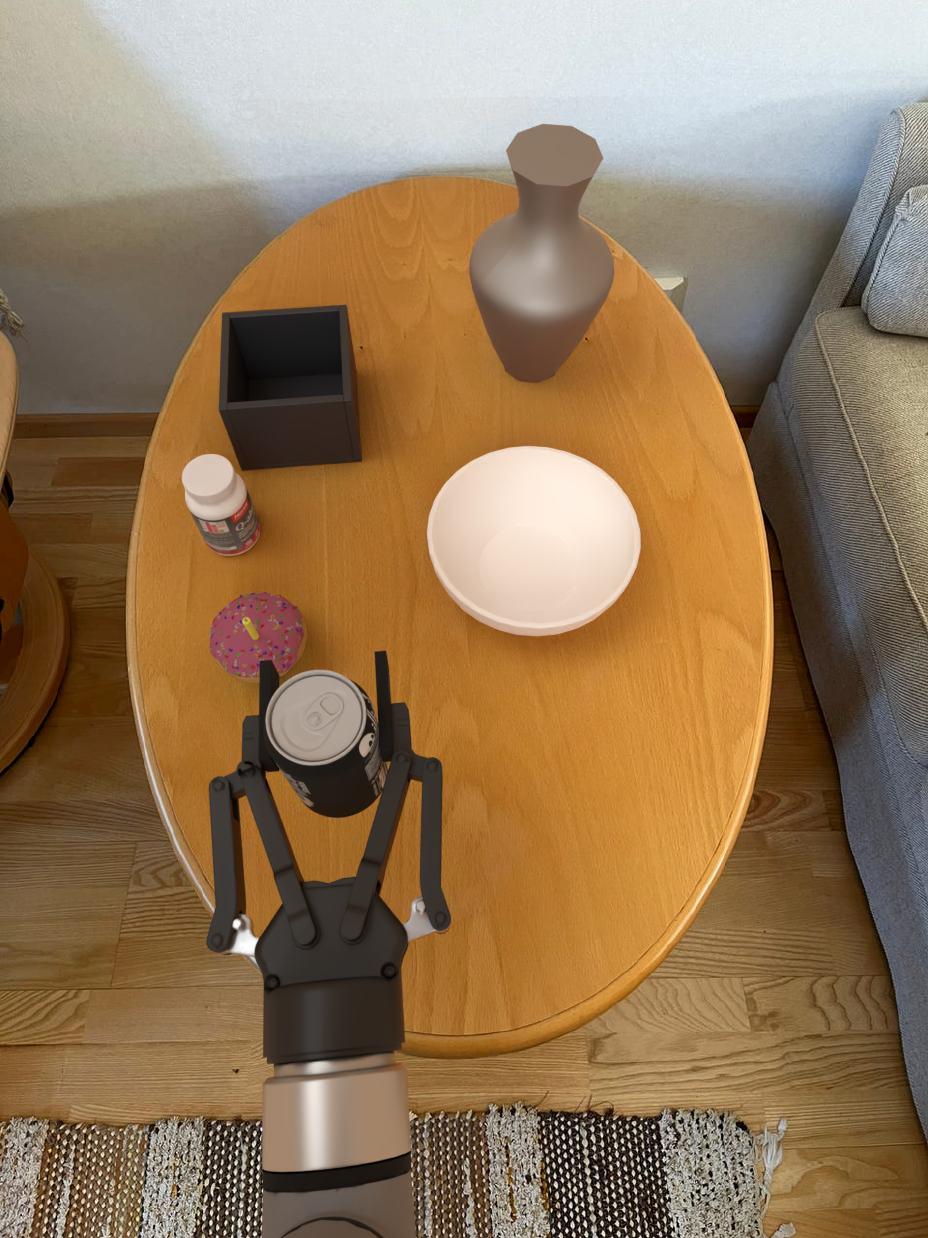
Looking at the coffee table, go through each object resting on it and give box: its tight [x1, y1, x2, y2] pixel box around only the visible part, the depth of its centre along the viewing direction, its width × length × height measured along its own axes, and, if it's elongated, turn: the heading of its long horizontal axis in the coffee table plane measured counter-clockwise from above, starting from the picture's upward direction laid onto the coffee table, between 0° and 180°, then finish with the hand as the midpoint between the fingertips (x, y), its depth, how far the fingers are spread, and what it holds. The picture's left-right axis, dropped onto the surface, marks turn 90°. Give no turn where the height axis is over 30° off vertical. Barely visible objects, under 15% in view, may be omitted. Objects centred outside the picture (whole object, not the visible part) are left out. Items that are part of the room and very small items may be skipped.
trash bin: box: [218, 304, 363, 471], centre depth 87 cm, size 13×13×10 cm
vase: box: [468, 123, 615, 383], centre depth 84 cm, size 14×14×25 cm
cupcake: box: [208, 591, 308, 684], centre depth 73 cm, size 9×8×12 cm
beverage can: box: [263, 669, 389, 819], centre depth 53 cm, size 7×7×12 cm
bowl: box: [426, 445, 642, 637], centre depth 80 cm, size 20×20×7 cm
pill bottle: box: [181, 453, 261, 557], centre depth 80 cm, size 6×6×10 cm
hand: (326, 664), depth 54 cm, fingers closed on beverage can, 7 cm apart
